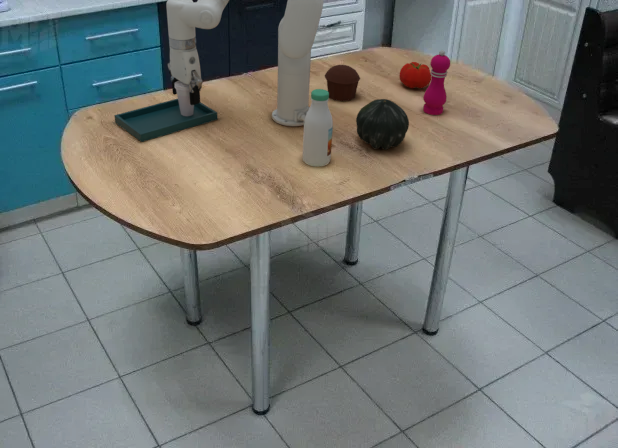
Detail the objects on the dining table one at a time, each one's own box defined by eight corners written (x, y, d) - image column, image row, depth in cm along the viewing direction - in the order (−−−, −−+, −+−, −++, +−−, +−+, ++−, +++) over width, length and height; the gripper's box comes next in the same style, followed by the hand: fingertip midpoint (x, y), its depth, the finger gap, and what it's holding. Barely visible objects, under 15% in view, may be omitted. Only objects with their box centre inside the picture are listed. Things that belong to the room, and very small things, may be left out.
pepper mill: (419, 106, 217) (428, 46, 206) (441, 106, 217) (451, 46, 206) (424, 115, 211) (433, 54, 200) (446, 116, 211) (457, 54, 200)
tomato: (431, 92, 227) (435, 71, 223) (399, 91, 227) (402, 69, 223) (427, 80, 236) (430, 60, 232) (396, 79, 236) (399, 58, 232)
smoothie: (200, 110, 206) (197, 66, 198) (194, 118, 201) (192, 74, 193) (179, 108, 206) (176, 64, 198) (173, 117, 201) (170, 72, 193)
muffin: (364, 95, 223) (367, 66, 217) (348, 105, 215) (350, 76, 209) (334, 86, 228) (336, 58, 222) (316, 96, 220) (318, 67, 214)
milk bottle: (321, 170, 179) (325, 100, 168) (296, 161, 182) (299, 92, 171) (335, 159, 184) (340, 90, 173) (311, 151, 188) (315, 83, 176)
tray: (217, 119, 202) (217, 112, 201) (141, 142, 188) (140, 134, 187) (189, 102, 212) (189, 95, 210) (115, 122, 198) (114, 115, 196)
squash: (384, 108, 201) (367, 81, 188) (424, 127, 193) (408, 99, 180) (357, 146, 200) (338, 121, 188) (396, 166, 192) (378, 142, 179)
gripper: (210, 48, 188) (213, 105, 197) (178, 32, 199) (181, 86, 208) (187, 53, 184) (191, 111, 193) (155, 36, 194) (160, 92, 204)
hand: (186, 98), depth 201 cm, fingers open, 9 cm apart
